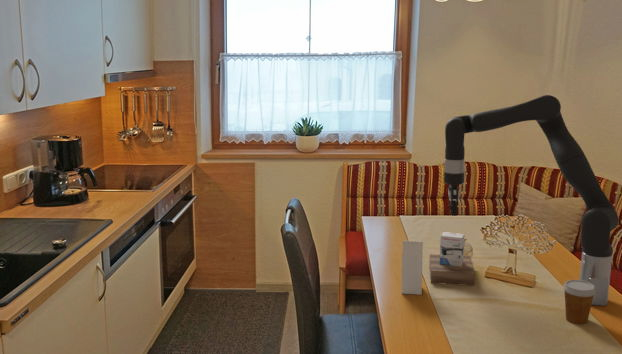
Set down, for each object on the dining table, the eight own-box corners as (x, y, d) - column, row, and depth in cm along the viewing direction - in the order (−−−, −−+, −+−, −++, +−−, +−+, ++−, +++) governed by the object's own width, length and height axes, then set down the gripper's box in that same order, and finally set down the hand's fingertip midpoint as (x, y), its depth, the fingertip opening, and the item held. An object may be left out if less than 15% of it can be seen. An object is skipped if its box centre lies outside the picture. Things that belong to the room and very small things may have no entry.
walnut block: (474, 285, 212) (474, 272, 211) (430, 283, 214) (431, 270, 213) (469, 267, 229) (470, 256, 228) (429, 266, 232) (429, 254, 231)
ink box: (439, 264, 220) (439, 235, 217) (441, 260, 224) (442, 231, 222) (461, 267, 216) (462, 237, 214) (463, 262, 221) (464, 233, 218)
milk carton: (421, 295, 204) (422, 244, 200) (401, 293, 205) (402, 243, 201) (421, 287, 211) (422, 238, 207) (402, 286, 212) (403, 237, 208)
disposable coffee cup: (565, 310, 189) (568, 276, 187) (596, 318, 183) (599, 283, 181) (556, 321, 182) (559, 286, 180) (588, 329, 176) (591, 293, 174)
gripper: (466, 174, 206) (464, 217, 209) (462, 167, 219) (461, 207, 223) (445, 174, 207) (443, 217, 210) (443, 167, 221) (441, 207, 224)
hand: (452, 212), depth 216 cm, fingers open, 8 cm apart
